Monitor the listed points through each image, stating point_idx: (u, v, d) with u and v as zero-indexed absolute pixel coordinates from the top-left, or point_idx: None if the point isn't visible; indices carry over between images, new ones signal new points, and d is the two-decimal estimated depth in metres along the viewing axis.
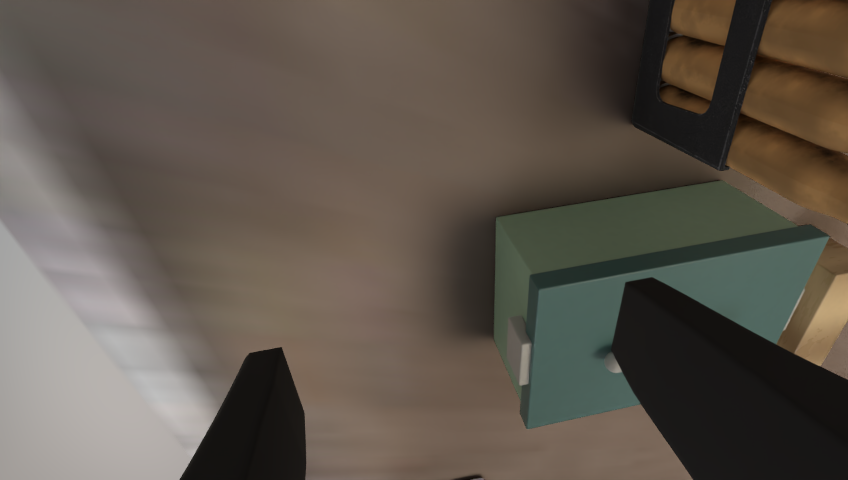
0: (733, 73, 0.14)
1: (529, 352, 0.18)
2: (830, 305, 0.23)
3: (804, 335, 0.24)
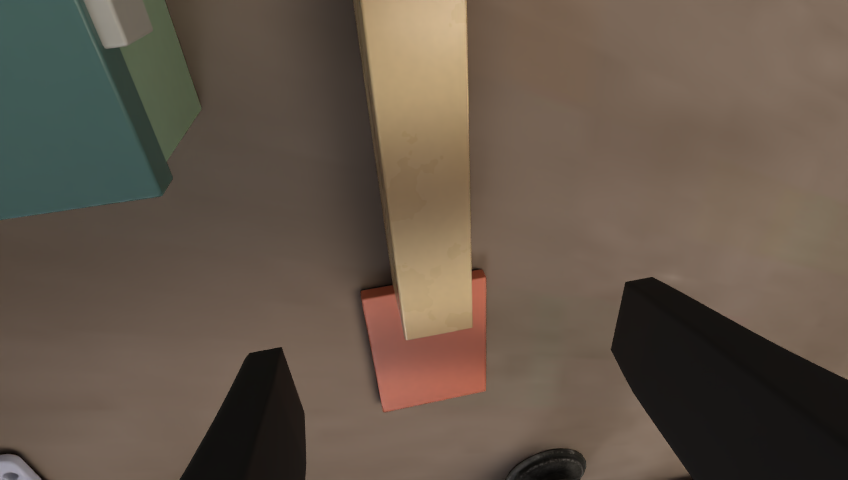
0: None
1: None
2: (397, 68, 0.11)
3: (382, 149, 0.12)
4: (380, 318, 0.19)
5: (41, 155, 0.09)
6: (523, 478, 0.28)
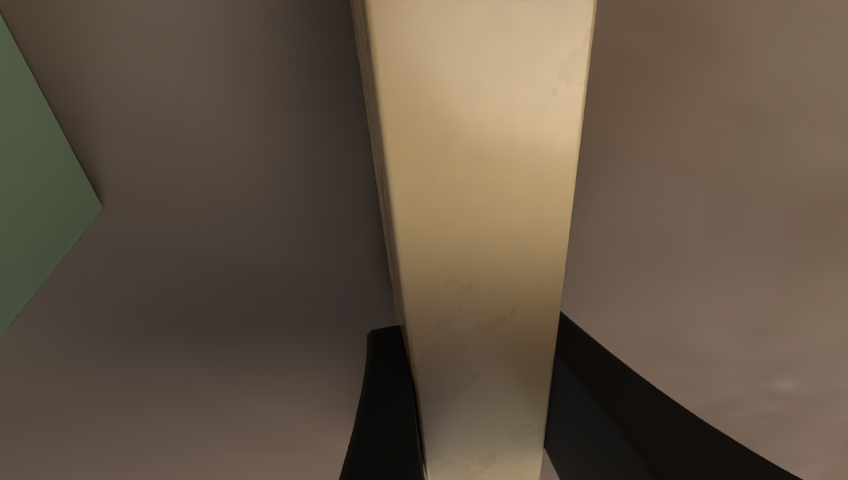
0: None
1: None
2: (442, 175, 0.05)
3: (407, 307, 0.07)
4: None
5: None
6: None
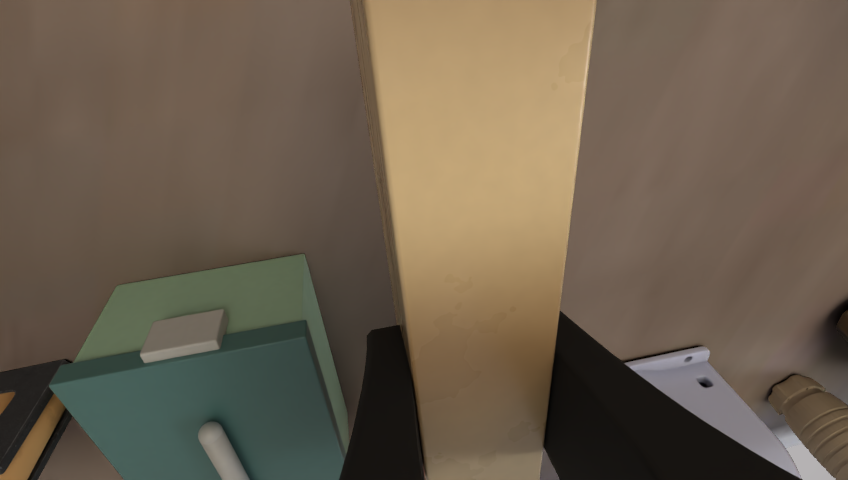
0: None
1: None
2: (442, 171, 0.05)
3: (406, 305, 0.06)
4: None
5: (282, 378, 0.16)
6: None
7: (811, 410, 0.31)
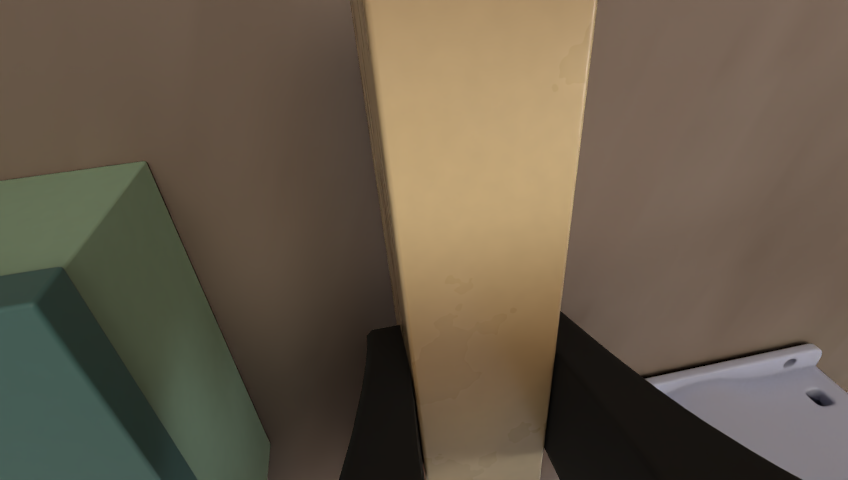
0: None
1: None
2: (442, 171, 0.05)
3: (407, 306, 0.06)
4: None
5: (9, 405, 0.07)
6: None
7: None
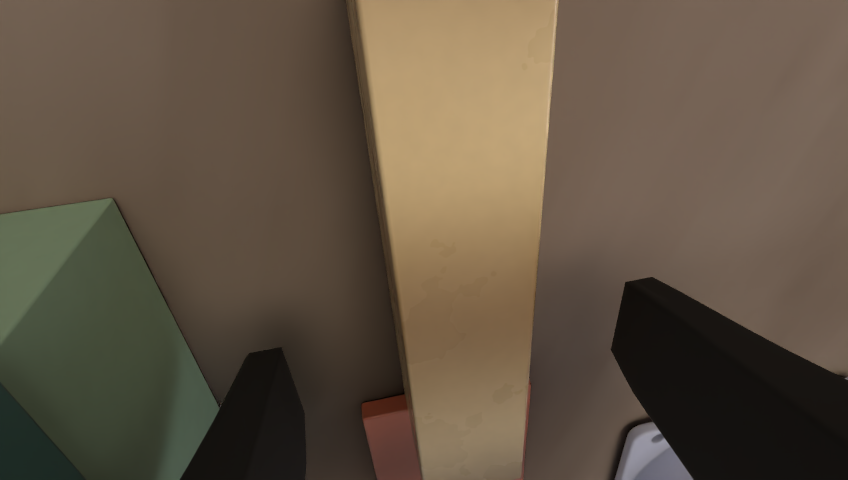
0: None
1: None
2: (426, 142, 0.06)
3: (396, 268, 0.07)
4: (388, 439, 0.14)
5: None
6: None
7: None
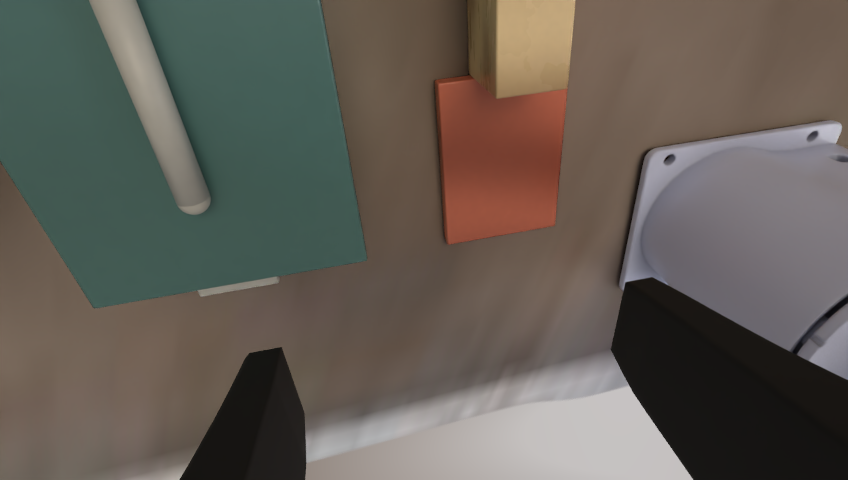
0: None
1: (210, 288, 0.14)
2: None
3: None
4: (455, 112, 0.17)
5: None
6: None
7: None
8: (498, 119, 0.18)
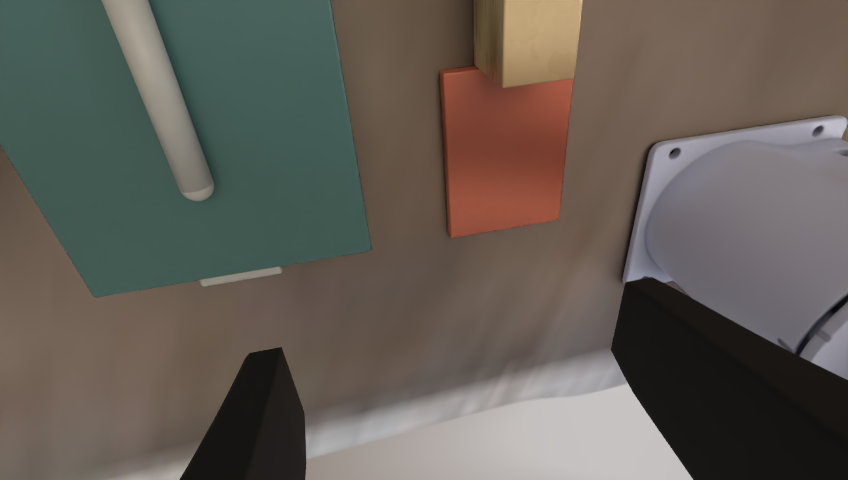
0: None
1: (212, 278, 0.14)
2: None
3: None
4: (460, 103, 0.17)
5: None
6: None
7: None
8: (503, 110, 0.18)
